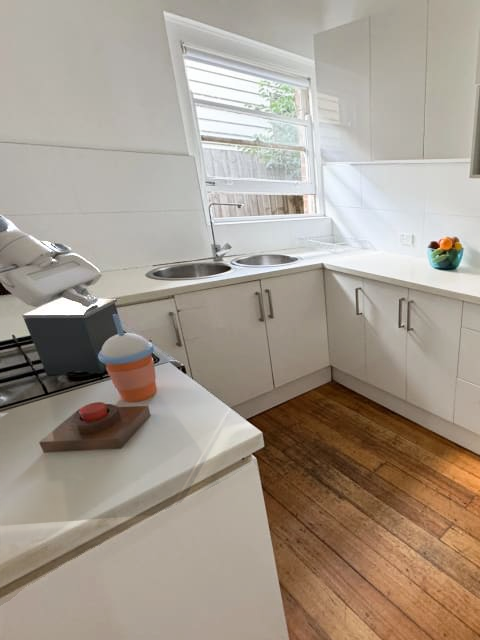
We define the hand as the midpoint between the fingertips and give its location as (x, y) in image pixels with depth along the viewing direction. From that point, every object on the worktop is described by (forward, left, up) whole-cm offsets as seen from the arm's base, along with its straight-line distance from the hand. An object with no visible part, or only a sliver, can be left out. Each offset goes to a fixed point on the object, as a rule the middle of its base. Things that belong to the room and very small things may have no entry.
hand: (93, 303), depth 87 cm
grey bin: (-5, 0, -15) cm, 16 cm away
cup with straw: (+14, -16, -15) cm, 26 cm away
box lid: (-5, 0, -1) cm, 5 cm away
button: (+14, -29, -12) cm, 34 cm away
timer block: (+14, -29, -15) cm, 36 cm away
